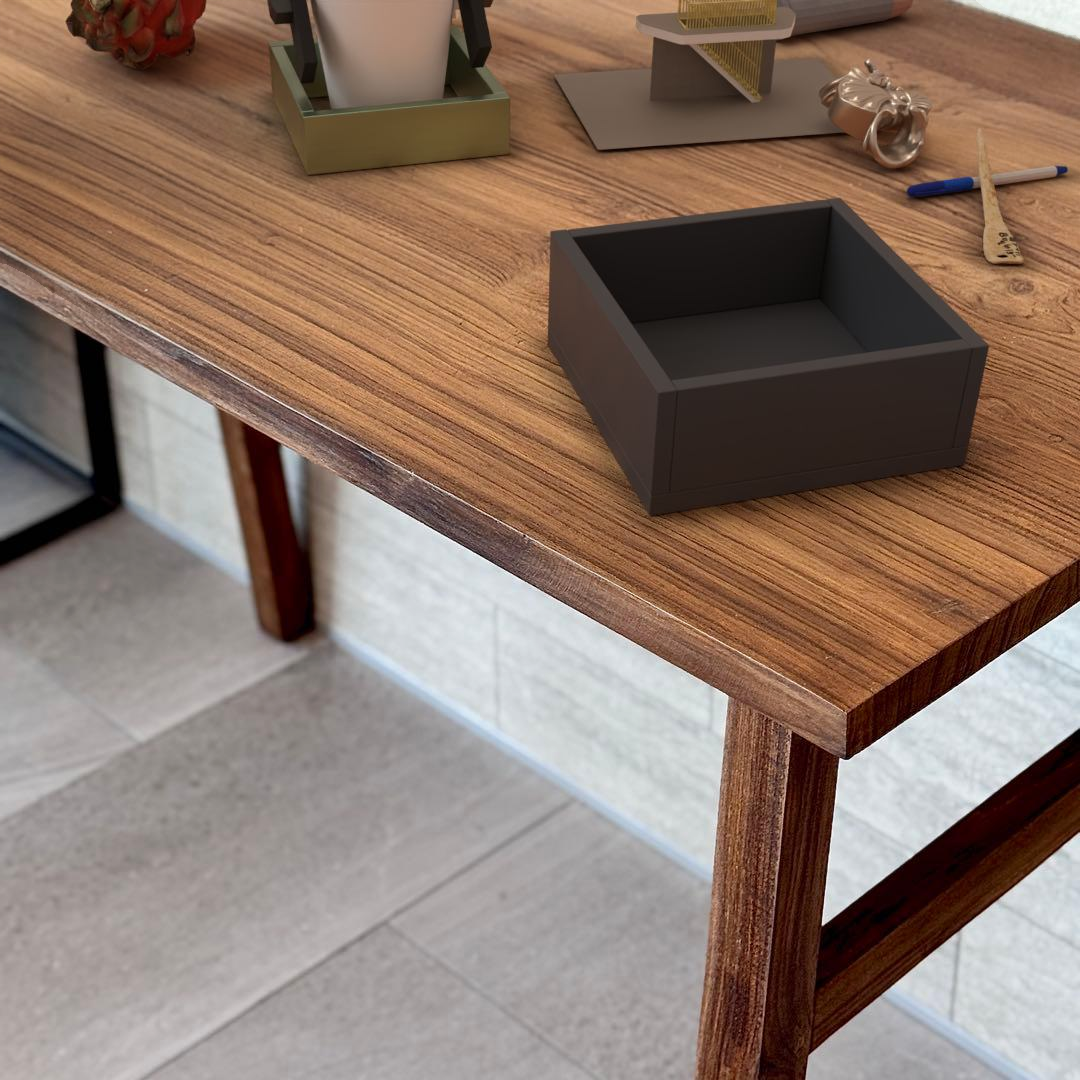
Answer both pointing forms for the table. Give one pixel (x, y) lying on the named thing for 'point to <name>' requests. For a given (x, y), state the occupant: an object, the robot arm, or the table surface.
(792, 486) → the dark grey square tray
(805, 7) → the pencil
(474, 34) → the robot arm
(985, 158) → the tool
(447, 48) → the foam cup
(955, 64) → the table surface
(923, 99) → the ornament
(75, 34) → the dragon fruit
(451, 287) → the table surface
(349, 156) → the olive square frame
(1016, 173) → the ballpoint pen
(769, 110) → the platform
